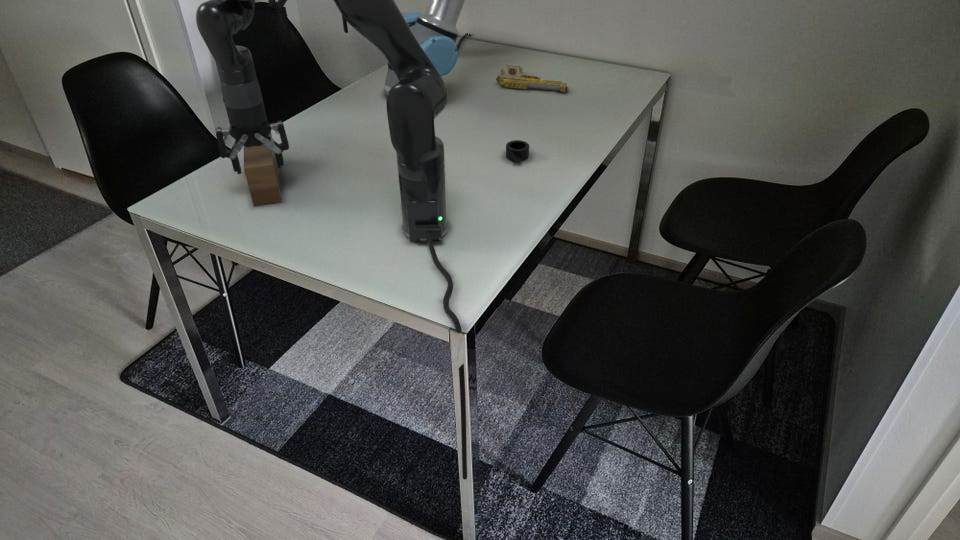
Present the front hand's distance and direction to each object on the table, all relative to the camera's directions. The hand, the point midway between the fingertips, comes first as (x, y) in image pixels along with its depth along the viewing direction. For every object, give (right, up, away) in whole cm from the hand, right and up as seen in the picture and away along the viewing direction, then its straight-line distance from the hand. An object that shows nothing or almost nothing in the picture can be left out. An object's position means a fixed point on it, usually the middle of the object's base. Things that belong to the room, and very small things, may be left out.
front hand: (259, 169), depth 139 cm
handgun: (+66, +37, +58) cm, 95 cm away
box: (-2, -1, +9) cm, 10 cm away
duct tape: (+58, +6, +19) cm, 62 cm away
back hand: (+9, +35, +14) cm, 39 cm away
